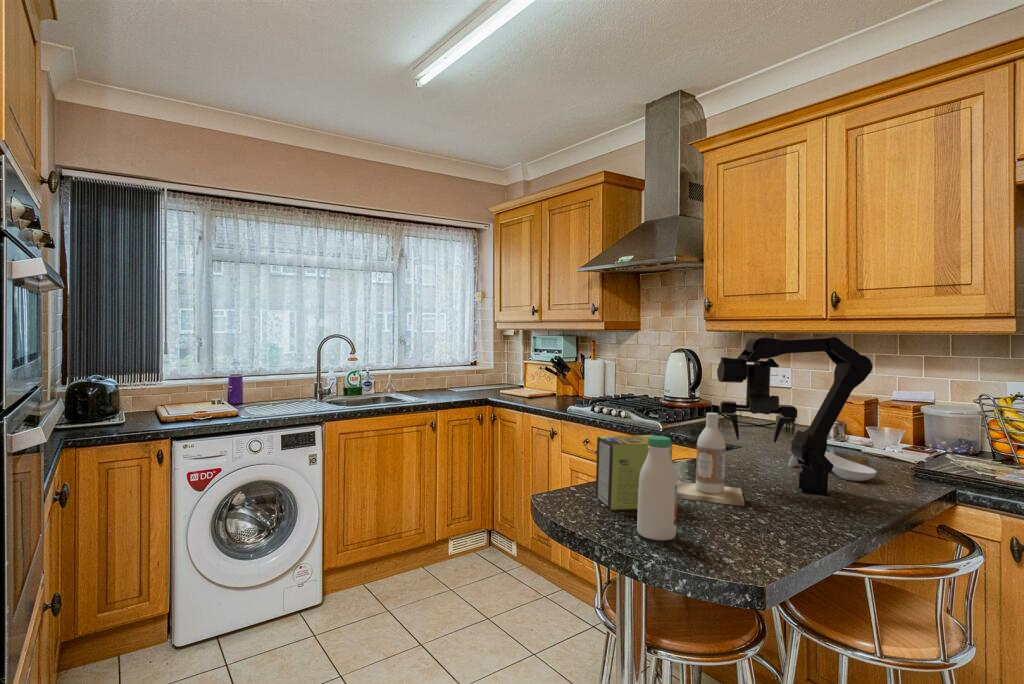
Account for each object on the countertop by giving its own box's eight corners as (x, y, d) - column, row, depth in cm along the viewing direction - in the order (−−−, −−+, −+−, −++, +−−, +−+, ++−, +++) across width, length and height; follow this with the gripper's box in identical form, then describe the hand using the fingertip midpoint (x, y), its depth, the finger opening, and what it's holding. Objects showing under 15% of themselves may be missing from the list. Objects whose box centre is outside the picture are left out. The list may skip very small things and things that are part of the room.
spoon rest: (882, 481, 161) (883, 456, 161) (868, 487, 153) (869, 462, 153) (798, 464, 179) (799, 442, 179) (782, 469, 172) (783, 446, 171)
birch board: (740, 492, 143) (740, 488, 143) (744, 506, 132) (744, 501, 132) (676, 485, 148) (677, 481, 148) (675, 497, 137) (675, 493, 137)
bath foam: (690, 489, 140) (693, 412, 140) (703, 485, 145) (706, 410, 145) (715, 496, 135) (718, 416, 135) (728, 491, 140) (731, 413, 140)
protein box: (671, 508, 129) (673, 442, 129) (610, 510, 126) (612, 443, 125) (651, 494, 139) (653, 434, 139) (594, 497, 136) (596, 435, 136)
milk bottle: (669, 544, 106) (673, 442, 106) (631, 535, 110) (634, 437, 110) (680, 533, 112) (683, 436, 112) (643, 525, 117) (647, 432, 116)
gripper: (722, 383, 142) (720, 443, 143) (802, 388, 137) (799, 450, 137) (720, 380, 153) (718, 435, 153) (794, 384, 147) (792, 442, 147)
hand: (756, 440), depth 147 cm, fingers open, 9 cm apart
